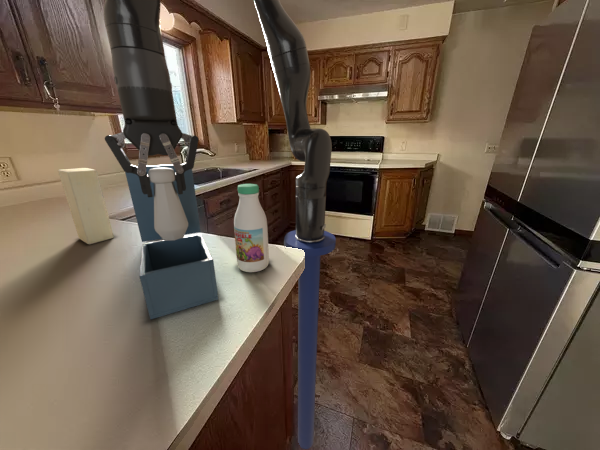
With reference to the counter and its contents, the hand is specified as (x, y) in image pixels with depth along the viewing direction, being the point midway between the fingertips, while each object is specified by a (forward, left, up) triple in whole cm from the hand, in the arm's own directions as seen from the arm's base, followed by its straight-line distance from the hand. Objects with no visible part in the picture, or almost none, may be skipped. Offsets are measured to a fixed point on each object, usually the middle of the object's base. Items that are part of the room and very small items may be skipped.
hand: (165, 194), depth 44 cm
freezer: (0, 0, -20) cm, 20 cm away
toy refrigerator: (-25, -40, -20) cm, 51 cm away
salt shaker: (0, 0, -8) cm, 8 cm away
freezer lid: (-5, -3, -3) cm, 7 cm away
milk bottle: (-11, +12, -20) cm, 26 cm away
